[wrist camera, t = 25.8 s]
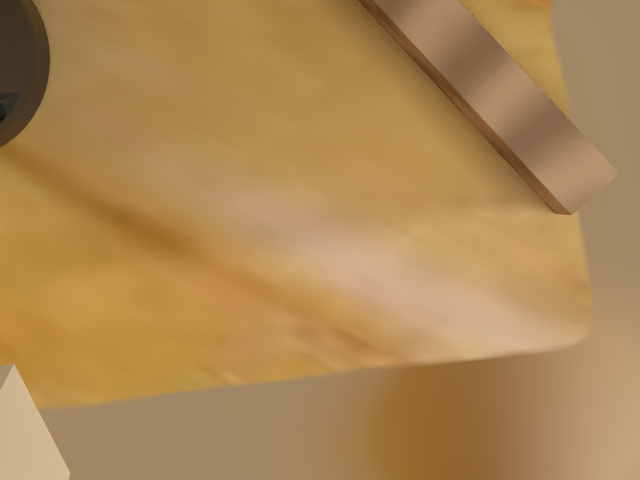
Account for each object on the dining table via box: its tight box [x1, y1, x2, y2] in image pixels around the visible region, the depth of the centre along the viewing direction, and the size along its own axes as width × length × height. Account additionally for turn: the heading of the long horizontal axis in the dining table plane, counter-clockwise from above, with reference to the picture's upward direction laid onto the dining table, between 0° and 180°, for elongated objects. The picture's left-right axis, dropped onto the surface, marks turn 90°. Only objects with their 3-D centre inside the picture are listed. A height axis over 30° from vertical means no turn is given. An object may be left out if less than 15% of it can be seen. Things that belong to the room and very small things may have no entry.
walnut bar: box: [359, 0, 619, 215], centre depth 43 cm, size 24×4×4 cm, turn 43°
